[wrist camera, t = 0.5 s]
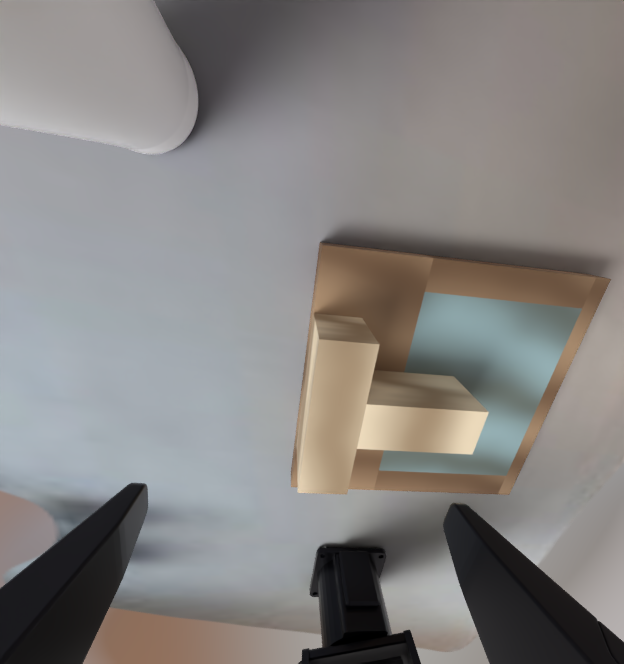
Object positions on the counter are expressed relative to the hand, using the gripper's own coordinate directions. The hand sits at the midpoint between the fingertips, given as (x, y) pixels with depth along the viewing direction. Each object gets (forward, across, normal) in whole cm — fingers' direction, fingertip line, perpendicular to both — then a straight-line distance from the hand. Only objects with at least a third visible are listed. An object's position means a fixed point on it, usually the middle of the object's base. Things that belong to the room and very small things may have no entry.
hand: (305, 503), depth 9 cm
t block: (+11, -6, +2) cm, 13 cm away
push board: (+13, -10, +2) cm, 16 cm away
